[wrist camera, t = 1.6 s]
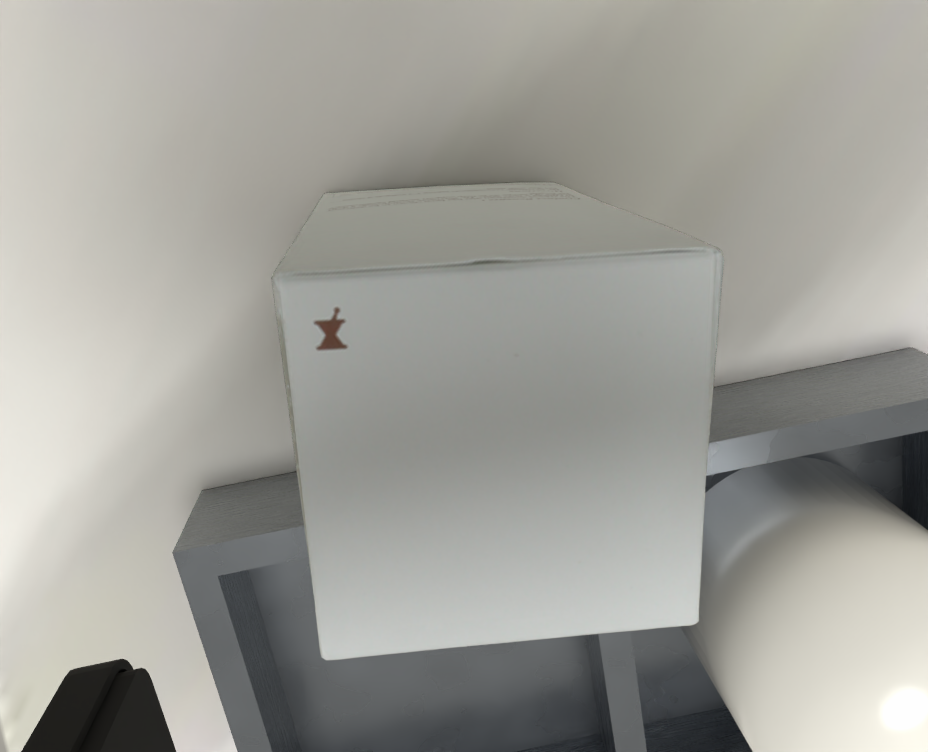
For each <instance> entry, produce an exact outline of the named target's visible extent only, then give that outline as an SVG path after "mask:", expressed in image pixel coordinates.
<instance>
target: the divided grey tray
mask: <svg viewBox="0 0 928 752" xmlns="http://www.w3.org/2000/svg"><path fill="white" fill-rule="evenodd" d="M795 457H806V458H815V459H820V460H824V461H828V462H831V463H833V464H836V465H838V466H841V467H843V468H845V469H846V470H848V471H850V472H851V473H853V474H855V475H856V476H857V477H859V478H860V479H861V480H863V481H864V482H865V483H866V484H868V485H869V486H870V487H872V488H873V489H874V490H876V491H877V492H878V493H880V494H881V495H882V496H883V497H885V498H886V499H887V500H889V501H890V502H891V503H893V504H894V505H895V506H897V507H898V508H899V509H900V510H902V511H903V512H904V513H906V514H907V515H908V516H910V517H911V518H912V519H914V520H915V521H916V522H917V523H919V524H920V525H921V526H923V527H924V528H925V529H927V530H928V355H927V354H925V353H923V352H921V351H918V350H916V349H914V348H908V349H903V350H898V351H894V352H889V353H884V354H879V355H874V356H869V357H864V358H859V359H854V360H849V361H844V362H839V363H834V364H829V365H824V366H819V367H814V368H809V369H804V370H799V371H794V372H789V373H784V374H779V375H774V376H769V377H764V378H759V379H754V380H749V381H744V382H739V383H735V384H730V385H725V386H720V387H715V388H713V397H712V410H711V423H710V435H709V447H708V459H707V471H706V485H705V493H706V492H707V491H708V490H710V489H711V488H712V487H713V486H714V485H716V484H717V483H719V482H720V481H722V480H723V479H724V478H726V477H728V476H729V475H731V474H733V473H735V472H737V471H739V470H741V469H743V468H747V467H751V466H756V465H761V464H766V463H771V462H776V461H781V460H786V459H790V458H795ZM172 553H173V556H174V559H175V562H176V565H177V568H178V571H179V574H180V577H181V580H182V583H183V586H184V589H185V592H186V595H187V598H188V601H189V604H190V608H191V611H192V614H193V617H194V620H195V623H196V626H197V629H198V632H199V635H200V638H201V641H202V644H203V647H204V650H205V653H206V656H207V659H208V662H209V666H210V669H211V672H212V675H213V678H214V681H215V684H216V687H217V690H218V693H219V696H220V699H221V702H222V705H223V708H224V711H225V714H226V717H227V721H228V724H229V727H230V730H231V733H232V736H233V739H234V742H235V745H236V748H237V751H238V752H753V751H752V749H751V748H750V746H749V744H748V743H747V741H746V739H745V737H744V736H743V734H742V732H741V731H740V729H739V727H738V725H737V724H736V722H735V720H734V718H733V717H732V715H731V713H730V712H729V710H728V708H727V706H726V705H725V703H724V701H723V700H722V698H721V696H720V694H719V693H718V691H717V689H716V687H715V686H714V684H713V682H712V681H711V679H710V677H709V675H708V674H707V672H706V670H705V669H704V667H703V665H702V663H701V662H700V660H699V658H698V656H697V655H696V653H695V651H694V650H693V648H692V646H691V644H690V643H689V641H688V639H687V638H686V636H685V634H684V632H683V631H682V629H681V627H680V626H678V627H665V628H655V629H646V630H635V631H624V632H613V633H601V634H590V635H580V636H570V637H560V638H549V639H539V640H529V641H518V642H508V643H498V644H487V645H476V646H465V647H454V648H444V649H435V650H425V651H415V652H406V653H396V654H385V655H376V656H367V657H357V658H348V659H340V660H325V659H323V658H322V657H321V653H320V646H319V637H318V628H317V619H316V612H315V601H314V594H313V586H312V578H311V571H310V564H309V557H308V550H307V543H306V535H305V528H304V521H303V514H302V506H301V499H300V491H299V484H298V476H297V472H292V473H287V474H282V475H277V476H272V477H268V478H263V479H258V480H253V481H248V482H243V483H238V484H233V485H228V486H223V487H218V488H213V489H208V490H203V491H202V492H201V494H200V496H199V498H198V500H197V502H196V504H195V506H194V508H193V510H192V513H191V515H190V517H189V519H188V521H187V523H186V525H185V527H184V529H183V531H182V534H181V536H180V538H179V540H178V542H177V544H176V546H175V548H174V550H173V552H172Z"/></svg>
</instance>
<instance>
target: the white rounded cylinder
mask: <svg viewBox="0 0 928 752" xmlns="http://www.w3.org/2000/svg"><path fill="white" fill-rule="evenodd" d="M680 627H681V629H682V631H683V632H684V634H685V636H686V638H687V639H688V641H689V643H690V644H691V646H692V648H693V650H694V651H695V653H696V655H697V656H698V658H699V660H700V662H701V663H702V665H703V667H704V669H705V670H706V672H707V674H708V675H709V677H710V679H711V681H712V682H713V684H714V686H715V687H716V689H717V691H718V693H719V694H720V696H721V698H722V700H723V701H724V703H725V705H726V706H727V708H728V710H729V712H730V713H731V715H732V717H733V718H734V720H735V722H736V724H737V725H738V727H739V729H740V731H741V732H742V734H743V736H744V737H745V739H746V741H747V743H748V744H749V746H750V748H751V749H752V751H753V752H928V530H927V529H925V528H924V527H923V526H921V525H920V524H919V523H917V522H916V521H915V520H914V519H912V518H911V517H910V516H908V515H907V514H906V513H904V512H903V511H902V510H900V509H899V508H898V507H897V506H895V505H894V504H893V503H891V502H890V501H889V500H887V499H886V498H885V497H883V496H882V495H881V494H880V493H878V492H877V491H876V490H874V489H873V488H872V487H870V486H869V485H868V484H866V483H865V482H864V481H863V480H861V479H860V478H859V477H857V476H856V475H855V474H853V473H851V472H850V471H848V470H846V469H845V468H843V467H841V466H838V465H836V464H833V463H831V462H828V461H824V460H820V459H815V458H806V457H795V458H790V459H786V460H781V461H776V462H771V463H766V464H761V465H756V466H751V467H747V468H743V469H741V470H739V471H737V472H735V473H733V474H731V475H729V476H728V477H726V478H724V479H723V480H722V481H720V482H719V483H717V484H716V485H714V486H713V487H712V488H711V489H710V490H708V491H707V492H706V493H705V504H704V522H703V542H702V562H701V582H700V599H699V621H698V622H697V623H696V624H694V625H691V626H680Z"/></svg>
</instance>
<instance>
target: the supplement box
mask: <svg viewBox="0 0 928 752" xmlns="http://www.w3.org/2000/svg"><path fill="white" fill-rule="evenodd" d="M723 266H724V257H723V253H722V251H721V250H720V249H719V248H717V247H714V246H712V245H710V244H707V243H705V242H703V241H701V240H698V239H696V238H694V237H692V236H689V235H687V234H685V233H682V232H680V231H677V230H675V229H672V228H670V227H668V226H665V225H663V224H660V223H657V222H655V221H652V220H649V219H647V218H644V217H642V216H639V215H636V214H634V213H631V212H628V211H625V210H623V209H620V208H617V207H615V206H612V205H609V204H607V203H604V202H602V201H599V200H597V199H594V198H592V197H589V196H587V195H584V194H581V193H579V192H576V191H574V190H572V189H570V188H567V187H565V186H562V185H560V184H558V183H556V182H525V183H497V184H474V185H449V186H431V187H416V188H400V189H383V190H366V191H351V192H337V193H324V194H323V196H322V197H321V199H320V201H319V202H318V204H317V205H316V207H315V209H314V210H313V212H312V213H311V215H310V216H309V218H308V219H307V221H306V223H305V224H304V226H303V227H302V229H301V231H300V232H299V234H298V236H297V237H296V239H295V240H294V242H293V243H292V245H291V247H290V248H289V249H288V251H287V252H286V254H285V256H284V257H283V259H282V260H281V262H280V264H279V265H278V267H277V268H276V270H275V271H274V273H273V275H272V287H273V295H274V302H275V310H276V317H277V325H278V332H279V340H280V347H281V355H282V362H283V370H284V378H285V385H286V393H287V401H288V409H289V416H290V424H291V432H292V439H293V447H294V454H295V462H296V469H297V476H298V484H299V491H300V499H301V506H302V514H303V521H304V528H305V535H306V543H307V550H308V557H309V564H310V571H311V578H312V586H313V594H314V601H315V612H316V619H317V628H318V637H319V646H320V653H321V657H322V658H323V659H325V660H340V659H348V658H357V657H367V656H376V655H385V654H396V653H406V652H415V651H425V650H435V649H444V648H454V647H465V646H476V645H487V644H498V643H508V642H518V641H529V640H539V639H549V638H560V637H570V636H580V635H590V634H601V633H613V632H624V631H635V630H646V629H655V628H665V627H678V626H691V625H694V624H696V623H697V622H698V621H699V599H700V582H701V562H702V542H703V522H704V504H705V485H706V471H707V459H708V447H709V435H710V423H711V410H712V397H713V385H714V373H715V362H716V350H717V338H718V323H719V310H720V298H721V287H722V276H723Z"/></svg>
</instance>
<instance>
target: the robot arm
mask: <svg viewBox="0 0 928 752" xmlns="http://www.w3.org/2000/svg"><path fill="white" fill-rule="evenodd" d="M21 752H176V750H175V747H174V744H173V741H172V738H171V735H170V732H169V729H168V726H167V724H166V721H165V718H164V715H163V712H162V709H161V706H160V703H159V700H158V697H157V694H156V691H155V689H154V686H153V683H152V680H151V678H150V675H149V673H148V672H147V671H146V670H145V669H143V668H139V669H135V670H133V667H132V666H131V664H130V663H129V662H128V661H127V660H124V659H119V660H114V661H109V662H105V663H100V664H95V665H90V666H86V667H81V668H76V669H73V670H70V671H69V673H68V674H67V675H66V676H65V678H64V680H63V681H62V683H61V685H60V686H59V688H58V690H57V692H56V693H55V695H54V697H53V698H52V700H51V702H50V704H49V705H48V707H47V709H46V710H45V712H44V714H43V715H42V717H41V719H40V721H39V722H38V724H37V726H36V727H35V729H34V731H33V733H32V734H31V736H30V738H29V739H28V741H27V743H26V745H25V746H24V748H23V750H22V751H21Z"/></svg>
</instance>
